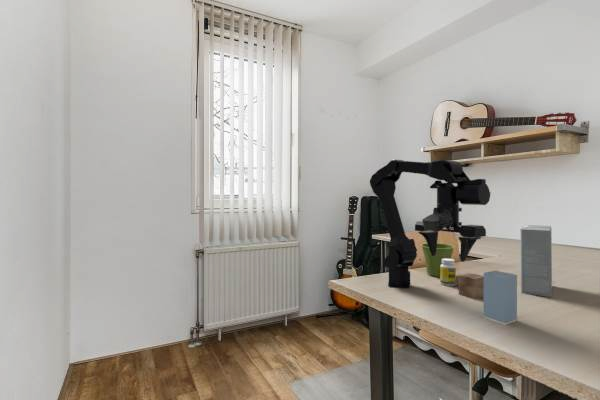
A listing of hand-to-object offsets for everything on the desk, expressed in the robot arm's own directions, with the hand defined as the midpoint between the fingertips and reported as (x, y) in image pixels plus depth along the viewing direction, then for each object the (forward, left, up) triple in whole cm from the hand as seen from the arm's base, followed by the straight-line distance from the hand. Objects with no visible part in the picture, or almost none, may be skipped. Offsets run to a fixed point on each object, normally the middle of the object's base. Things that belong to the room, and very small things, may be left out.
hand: (447, 258), depth 88 cm
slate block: (+10, -11, -12) cm, 19 cm away
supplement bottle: (+3, +17, -12) cm, 22 cm away
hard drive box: (+29, +19, -12) cm, 37 cm away
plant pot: (+1, +29, -12) cm, 32 cm away
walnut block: (+8, +6, -12) cm, 16 cm away
